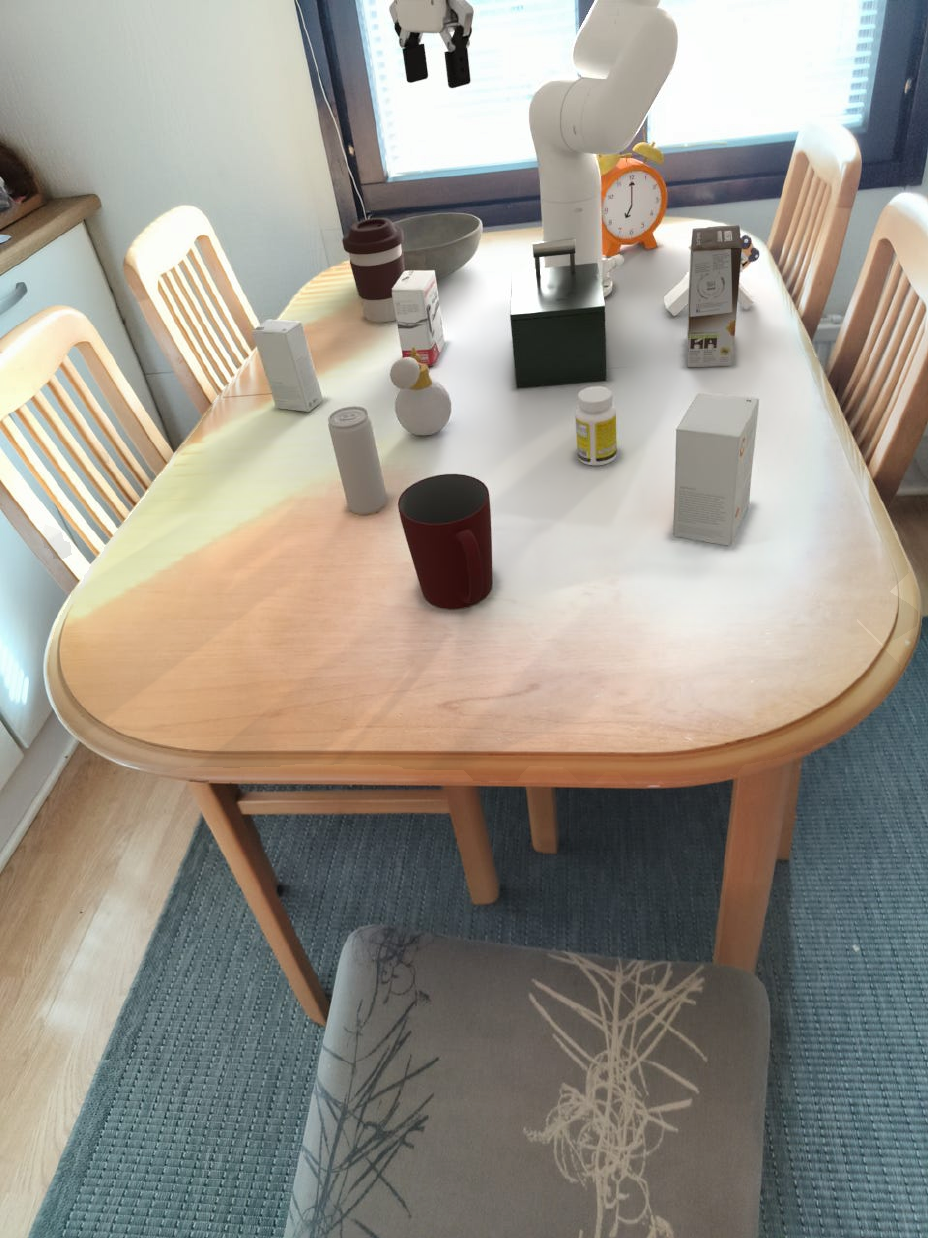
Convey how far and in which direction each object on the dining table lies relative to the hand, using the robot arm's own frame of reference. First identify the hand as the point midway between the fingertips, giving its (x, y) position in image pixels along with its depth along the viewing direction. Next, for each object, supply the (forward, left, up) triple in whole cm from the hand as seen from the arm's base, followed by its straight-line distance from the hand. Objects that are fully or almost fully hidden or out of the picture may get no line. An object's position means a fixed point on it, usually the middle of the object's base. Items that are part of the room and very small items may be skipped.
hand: (438, 82), depth 117 cm
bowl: (-13, -30, -36) cm, 49 cm away
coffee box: (-19, +32, -36) cm, 52 cm away
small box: (+12, +60, -36) cm, 71 cm away
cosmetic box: (+30, -2, -36) cm, 47 cm away
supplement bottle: (+11, +41, -36) cm, 55 cm away
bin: (-4, +17, -36) cm, 40 cm away
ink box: (+8, -1, -36) cm, 37 cm away
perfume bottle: (+22, +20, -36) cm, 46 cm away
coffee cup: (+3, -20, -36) cm, 41 cm away
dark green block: (-4, +16, -26) cm, 31 cm away
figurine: (-31, +21, -36) cm, 52 cm away
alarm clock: (-43, -9, -36) cm, 57 cm away
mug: (+39, +51, -36) cm, 73 cm away
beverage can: (+37, +29, -36) cm, 59 cm away
